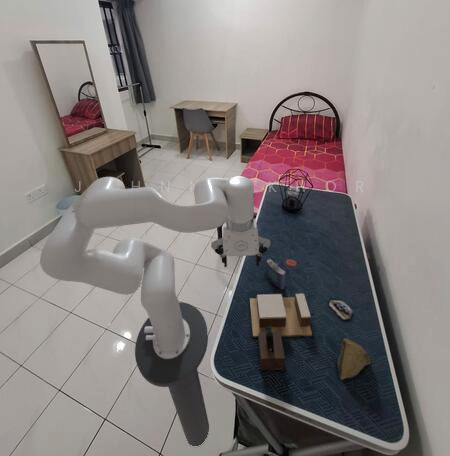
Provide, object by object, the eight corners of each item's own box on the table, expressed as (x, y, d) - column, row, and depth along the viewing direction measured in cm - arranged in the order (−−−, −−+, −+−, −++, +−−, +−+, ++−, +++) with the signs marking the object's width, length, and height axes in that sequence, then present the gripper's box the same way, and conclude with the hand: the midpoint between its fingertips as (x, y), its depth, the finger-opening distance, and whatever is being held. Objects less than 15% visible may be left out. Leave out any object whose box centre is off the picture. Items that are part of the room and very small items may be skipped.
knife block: (260, 370, 73) (261, 358, 70) (258, 344, 80) (258, 332, 77) (283, 369, 73) (285, 358, 70) (279, 343, 79) (280, 331, 76)
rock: (368, 341, 77) (335, 332, 78) (381, 350, 69) (345, 339, 71) (368, 384, 72) (333, 373, 74) (382, 398, 64) (344, 385, 66)
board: (253, 337, 81) (253, 335, 81) (249, 299, 93) (249, 298, 93) (311, 336, 81) (312, 334, 80) (301, 298, 93) (301, 296, 92)
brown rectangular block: (300, 326, 83) (301, 316, 80) (294, 303, 90) (295, 293, 87) (308, 326, 83) (310, 316, 80) (302, 303, 90) (303, 293, 87)
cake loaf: (259, 327, 83) (259, 317, 81) (256, 304, 90) (256, 294, 88) (285, 326, 83) (286, 316, 80) (280, 303, 90) (281, 293, 87)
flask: (285, 287, 97) (287, 269, 92) (280, 291, 95) (282, 273, 91) (268, 272, 104) (269, 254, 99) (263, 276, 102) (264, 258, 97)
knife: (268, 362, 74) (266, 337, 68) (267, 350, 77) (264, 326, 71) (275, 361, 74) (273, 336, 68) (273, 350, 77) (271, 325, 71)
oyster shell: (348, 324, 84) (349, 321, 83) (325, 309, 88) (326, 306, 88) (354, 309, 88) (355, 306, 87) (332, 295, 93) (333, 292, 92)
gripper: (207, 230, 62) (212, 274, 70) (274, 228, 62) (271, 272, 69) (209, 211, 69) (213, 253, 77) (269, 209, 68) (267, 251, 76)
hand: (241, 262), depth 73 cm, fingers open, 9 cm apart
